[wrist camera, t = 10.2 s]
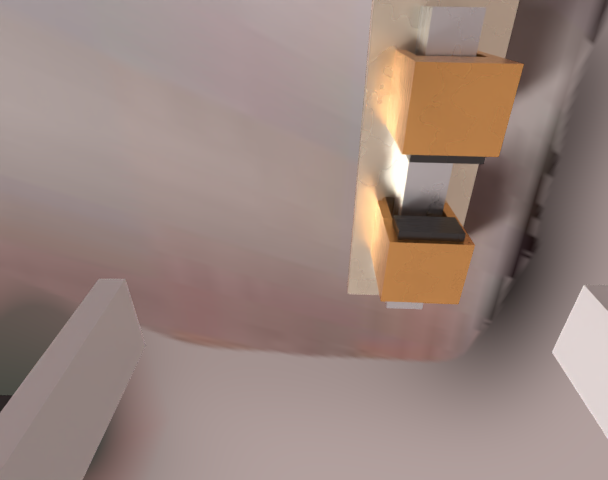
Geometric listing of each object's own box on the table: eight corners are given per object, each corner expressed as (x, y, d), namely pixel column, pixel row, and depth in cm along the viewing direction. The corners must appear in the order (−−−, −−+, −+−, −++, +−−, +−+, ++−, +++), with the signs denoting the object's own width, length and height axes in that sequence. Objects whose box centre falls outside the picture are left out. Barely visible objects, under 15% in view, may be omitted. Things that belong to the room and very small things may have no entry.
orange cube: (378, 193, 32) (390, 234, 26) (449, 196, 32) (476, 237, 26) (370, 253, 35) (380, 301, 29) (435, 255, 34) (458, 304, 29)
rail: (373, -13, 26) (391, -19, 19) (515, -11, 25) (582, -16, 19) (347, 287, 38) (352, 345, 31) (442, 290, 38) (468, 349, 31)
